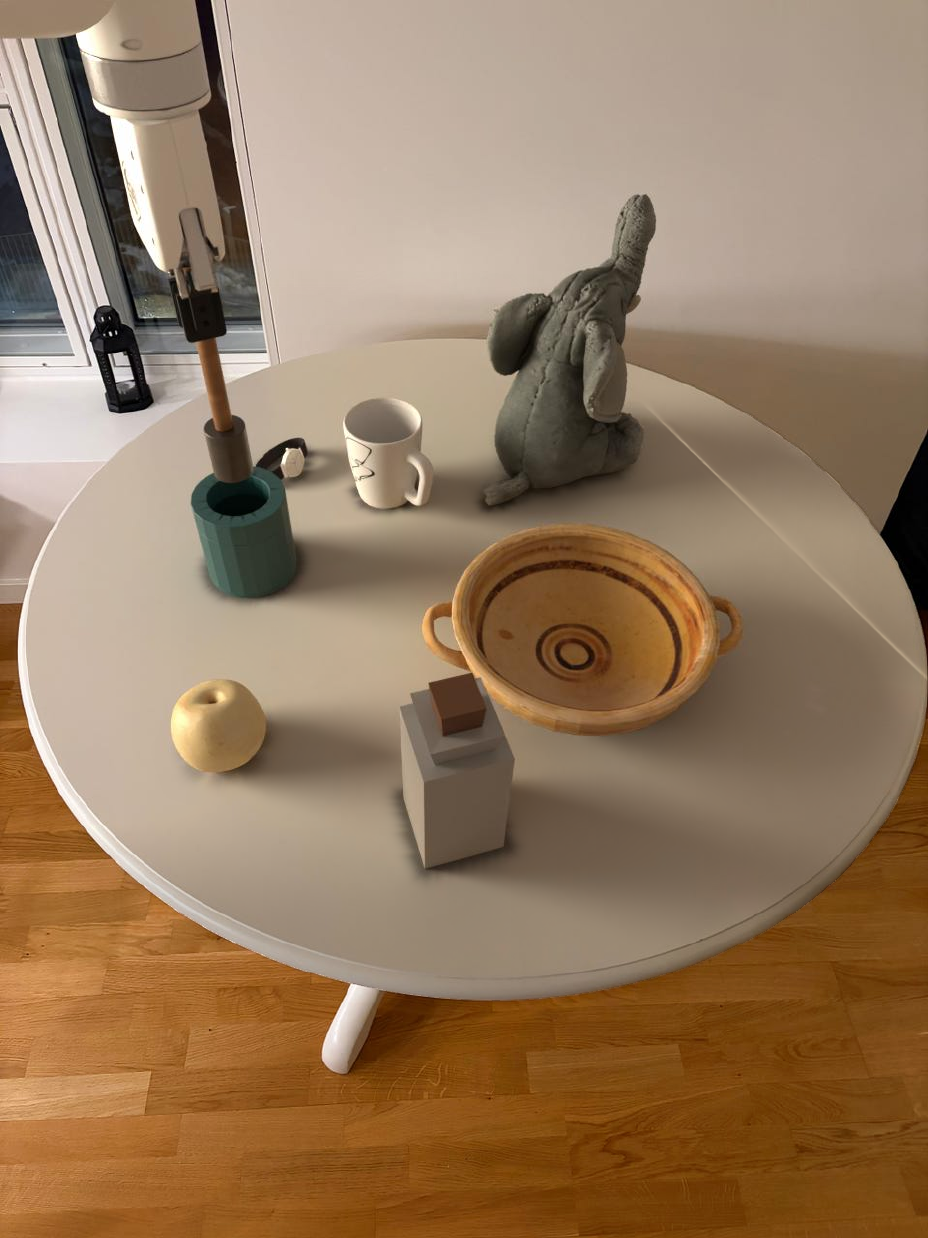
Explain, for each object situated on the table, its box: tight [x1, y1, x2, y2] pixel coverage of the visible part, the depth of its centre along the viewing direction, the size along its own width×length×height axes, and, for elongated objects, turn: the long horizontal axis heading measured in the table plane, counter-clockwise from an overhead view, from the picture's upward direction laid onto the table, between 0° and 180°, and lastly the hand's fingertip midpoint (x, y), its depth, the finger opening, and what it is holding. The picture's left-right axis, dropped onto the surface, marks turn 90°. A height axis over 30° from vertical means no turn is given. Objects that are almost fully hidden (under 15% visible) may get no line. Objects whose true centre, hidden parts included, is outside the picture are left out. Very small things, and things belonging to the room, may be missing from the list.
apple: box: [170, 678, 267, 773], centre depth 78 cm, size 8×8×8 cm
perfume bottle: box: [398, 672, 516, 870], centre depth 69 cm, size 7×7×18 cm
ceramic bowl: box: [421, 522, 744, 737], centre depth 84 cm, size 30×24×8 cm
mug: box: [342, 396, 435, 510], centre depth 99 cm, size 11×8×10 cm
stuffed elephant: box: [483, 193, 657, 506], centre depth 99 cm, size 19×21×27 cm
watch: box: [255, 437, 309, 480], centre depth 104 cm, size 8×5×4 cm, turn 151°
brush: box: [183, 266, 254, 483], centre depth 75 cm, size 4×4×20 cm
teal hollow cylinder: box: [190, 466, 297, 599], centre depth 91 cm, size 9×9×10 cm
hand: (202, 328), depth 72 cm, fingers closed on brush
